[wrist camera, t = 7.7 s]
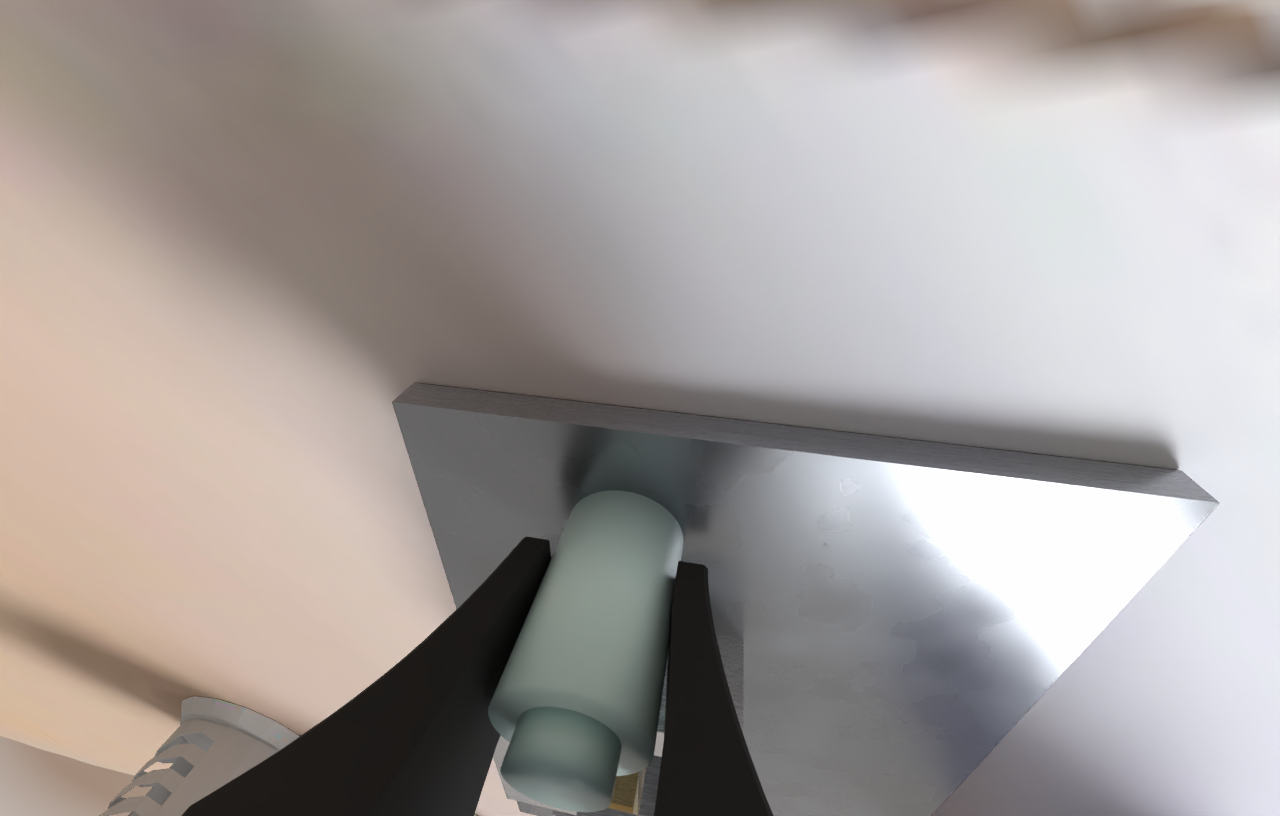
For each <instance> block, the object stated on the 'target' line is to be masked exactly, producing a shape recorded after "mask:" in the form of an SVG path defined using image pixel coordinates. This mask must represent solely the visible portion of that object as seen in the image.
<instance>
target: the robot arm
mask: <svg viewBox="0 0 1280 816" xmlns="http://www.w3.org/2000/svg"><path fill="white" fill-rule="evenodd" d="M550 561H551V551H550V543H549V540H545V539H539V538H533V537H527V536H526V537H525V538H523V539H522V540H521V541H520V542H519V543H518V545H517V546H516V547H515V548H514V549H513V550H512V551H511V552H510V554H509V555H508V556H507V557H506V558H505V559H504V560H503V561H502V563H501V564H500V565H499V566H498V567H497V568H496V569H495V570H494V571H493V572H492V573H491V575H490V576H489V577H488V578H487V579H486V580H485V581H484V582H483V583H482V584H481V585H480V586H479V587H478V588H477V589H476V590H475V591H474V592H473V593H472V594H471V595H470V597H469V598H468V599H467V600H466V601H465V602H464V603H463V604H462V605H461V606H460V607H459V608H458V609H457V610H456V611H455V612H454V613H453V614H452V615H451V616H449V617H448V618H447V619H446V620H445V621H444V622H443V623H442V624H441V625H440V626H439V627H438V628H437V629H436V630H435V631H434V632H432V633H431V634H430V635H429V636H428V637H427V638H426V639H425V640H424V641H423V642H422V643H421V644H419V645H418V646H417V647H416V648H415V649H414V650H413V651H411V652H410V653H409V654H408V655H407V656H406V657H405V658H403V659H402V660H401V661H400V662H399V663H397V664H396V665H395V666H394V667H393V668H391V669H390V670H389V671H388V672H387V673H385V674H384V675H383V676H382V677H380V678H379V679H378V680H377V681H375V682H374V683H373V684H371V685H370V686H369V687H368V688H366V689H365V690H364V691H362V692H361V693H360V694H358V695H357V696H356V697H355V698H353V699H352V700H351V701H349V702H348V703H347V704H345V705H344V706H343V707H341V708H340V709H339V710H337V711H336V712H334V713H333V714H332V715H330V716H329V717H328V718H326V719H325V720H323V721H322V722H320V723H319V724H317V725H316V726H314V727H313V728H312V729H310V730H309V731H307V732H306V733H304V734H303V735H301V736H300V737H298V738H297V739H295V740H294V741H293V742H291V743H290V744H288V745H287V746H285V747H284V748H282V749H281V750H279V751H278V752H276V753H275V754H273V755H272V756H270V757H269V758H267V759H266V760H264V761H262V762H261V763H259V764H258V765H256V766H254V767H253V768H251V769H249V770H248V771H246V772H245V773H243V774H241V775H240V776H238V777H236V778H235V779H233V780H232V781H230V782H228V783H227V784H225V785H223V786H222V787H220V788H218V789H217V790H215V791H214V792H212V793H210V794H209V795H207V796H205V797H204V798H202V799H200V800H199V801H197V802H195V803H194V804H192V805H191V806H189V807H188V809H187V810H186V811H185V812H184V813H183V814H182V816H474V814H475V810H476V807H477V804H478V801H479V798H480V794H481V791H482V788H483V785H484V782H485V779H486V776H487V773H488V770H489V767H490V764H491V761H492V758H493V755H494V752H495V749H496V746H497V743H498V741H499V738H500V736H501V735H500V734H499V733H498V732H497V730H496V729H495V728H494V726H493V725H492V723H491V721H490V719H489V715H488V707H489V705H490V702H491V700H492V698H493V695H494V693H495V690H496V688H497V686H498V683H499V681H500V679H501V676H502V674H503V672H504V669H505V667H506V665H507V662H508V660H509V657H510V655H511V653H512V650H513V648H514V646H515V643H516V641H517V639H518V636H519V634H520V632H521V629H522V627H523V624H524V622H525V620H526V617H527V615H528V613H529V610H530V608H531V606H532V603H533V601H534V599H535V596H536V594H537V591H538V589H539V587H540V584H541V582H542V580H543V577H544V575H545V573H546V570H547V568H548V566H549V563H550ZM654 816H773V813H772V811H771V808H770V806H769V803H768V801H767V798H766V796H765V793H764V791H763V788H762V786H761V783H760V780H759V777H758V775H757V772H756V769H755V767H754V764H753V761H752V758H751V756H750V753H749V750H748V747H747V744H746V741H745V738H744V735H743V732H742V729H741V726H740V723H739V720H738V717H737V713H736V710H735V707H734V704H733V700H732V697H731V693H730V690H729V686H728V683H727V679H726V675H725V671H724V667H723V663H722V659H721V655H720V650H719V646H718V642H717V637H716V633H715V628H714V622H713V616H712V610H711V604H710V596H709V585H708V568H707V567H706V566H705V565H702V564H696V563H689V562H683V561H678V567H677V573H676V579H675V585H674V593H673V604H672V616H671V632H670V643H669V650H668V666H667V686H666V706H665V726H664V743H663V750H662V758H661V766H660V773H659V781H658V788H657V796H656V804H655V811H654Z"/></svg>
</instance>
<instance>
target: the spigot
mask: <svg viewBox="0 0 1280 816" xmlns="http://www.w3.org/2000/svg"><path fill="white" fill-rule="evenodd" d="M682 550H683V533H682V530H681V527H680V525H679V524H678V522H677V520H676V519H675V518H674V516H673V515H672V514H671V513H670V512H669V511H668V510H667V509H665V508H664V507H663V506H662V505H660V504H659V503H657V502H655V501H654V500H652V499H650V498H647V497H645V496H642V495H640V494H636V493H633V492H627V491H619V490H609V491H601V492H597V493H594V494H591V495H589V496H587V497H585V498H583V499H582V500H580V501H579V502H578V503H577V504H576V505H575V506H574V508H573V510H572V511H571V514H570V516H569V518H568V521H567V523H566V525H565V528H564V530H563V533H562V535H561V537H560V540H559V542H558V544H557V547H556V549H555V551H554V554H553V556H552V558H551V561H550V563H549V566H548V568H547V570H546V573H545V575H544V577H543V580H542V582H541V584H540V587H539V589H538V591H537V594H536V596H535V599H534V601H533V603H532V606H531V608H530V610H529V613H528V615H527V617H526V620H525V622H524V624H523V627H522V629H521V632H520V634H519V636H518V639H517V641H516V643H515V646H514V648H513V650H512V653H511V655H510V657H509V660H508V662H507V665H506V667H505V669H504V672H503V674H502V676H501V679H500V681H499V683H498V686H497V688H496V690H495V693H494V695H493V698H492V700H491V702H490V705H489V707H488V715H489V719H490V721H491V723H492V725H493V726H494V728H495V729H496V730H497V732H498V733H499V734H500V735H501V736H502V737H503V738H504V739H505V740H507V741H508V742H509V746H508V749H507V752H506V754H505V757H504V760H503V762H502V765H501V769H500V771H501V775H502V777H503V778H504V780H505V781H506V782H507V783H508V784H509V785H510V786H511V787H513V788H514V789H515V790H517V791H518V792H520V793H522V794H523V795H525V796H527V797H529V798H531V799H533V800H536V801H538V802H540V803H543V804H546V805H549V806H552V807H556V808H559V809H564V810H569V811H576V812H597V811H601V810H604V809H606V808H608V807H609V806H610V804H611V802H612V796H613V791H614V786H615V781H616V776H623V775H629V774H633V773H636V772H639V771H641V770H643V769H644V768H646V767H647V766H648V765H649V764H650V763H651V761H652V760H653V756H654V751H655V743H656V736H657V729H658V722H659V715H660V708H661V700H662V693H663V686H664V679H665V672H666V665H667V657H668V650H669V643H670V632H671V616H672V604H673V593H674V585H675V579H676V573H677V567H678V561H681V557H682Z"/></svg>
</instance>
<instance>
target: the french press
mask: <svg viewBox="0 0 1280 816" xmlns="http://www.w3.org/2000/svg"><path fill="white" fill-rule="evenodd" d="M298 737H300V736H299V735H297V734H296V733H294V732H292V731H291V730H289V729H288V728H286V727H284V726H283V725H281V724H279V723H278V722H276V721H274V720H272V719H270V718H268V717H265V716H263V715H261V714H259V713H257V712H254V711H252V710H250V709H248V708H245V707H242V706H239V705H236V704H232V703H229V702H226V701H223V700H219V699H216V698H206V697H197V696H193V697H190V698H187V699H184V700H182V703H181V723H180V727H179V728H178V729H177V730H176V731H175V732H174V733H173V734H172V735H171V736H170V737H169V739H168V740H167V741H166V742H165V743H164V744H163V745H162V746H161V747H160V748H159V749H158V751H157V753H156V755H155V757H154V758H152V759H151V760H150V761H148V762H147V763H146V764H145V765H144V766H143V767H142V768H141V770H140V771H139V772H138V773H137V774H136V775H135V776H134V779H133V781H132V783H130V784H129V785H128V786H126V787H125V788H124V789H123V790H122V791H121V792H120V793H119V794H118V795H117V796H116V797H115V798H114V799H113V801H111V802H110V805H109V807H108V809H107V810H106V811H105V812H104V813H102V814H101V815H99V816H109V815H113V814H119V813H125V812H131V813H130V814H129V815H128V816H182V814H183V813H184V812H185V811H186V810H187V809H188V807H189V806H191V805H192V804H194V803H195V802H197V801H199V800H200V799H202V798H204V797H205V796H207V795H209V794H210V793H212V792H214V791H215V790H217V789H218V788H220V787H222V786H223V785H225V784H227V783H228V782H230V781H232V780H233V779H235V778H236V777H238V776H240V775H241V774H243V773H245V772H246V771H248V770H249V769H251V768H253V767H254V766H256V765H258V764H259V763H261V762H262V761H264V760H266V759H267V758H269V757H270V756H272V755H273V754H275V753H276V752H278V751H279V750H281V749H282V748H284V747H285V746H287V745H288V744H290V743H291V742H293V741H294V740H295V739H297V738H298ZM157 761H158V762H161V763H173V765H172V766H171V767H170V768H169V769H161V770H153V771H150V772H149V773H147V772H144V770H145V769H146V768H148V767H149V766H151V765H152V764H154V763H155V762H157ZM135 786H139V787H150V786H153V787H152V789H151V790H150V791H149V792H148V793H147V794H146V796H140V797H131V798H121V796H122V795H124V794H125V793H126V792H128V791H129V790H131V789H132V788H134V787H135Z"/></svg>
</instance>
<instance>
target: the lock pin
mask: <svg viewBox="0 0 1280 816" xmlns="http://www.w3.org/2000/svg"><path fill="white" fill-rule="evenodd" d="M638 781H639V772H636V773H633V774H629V775H623V776H616V781H615V786H614V791H613V796H612V802H611V804H610V806H609V807H608V808H611V809H615V810H619V811H623V812H627V813H632V814H636V815H637V809H638Z"/></svg>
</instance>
